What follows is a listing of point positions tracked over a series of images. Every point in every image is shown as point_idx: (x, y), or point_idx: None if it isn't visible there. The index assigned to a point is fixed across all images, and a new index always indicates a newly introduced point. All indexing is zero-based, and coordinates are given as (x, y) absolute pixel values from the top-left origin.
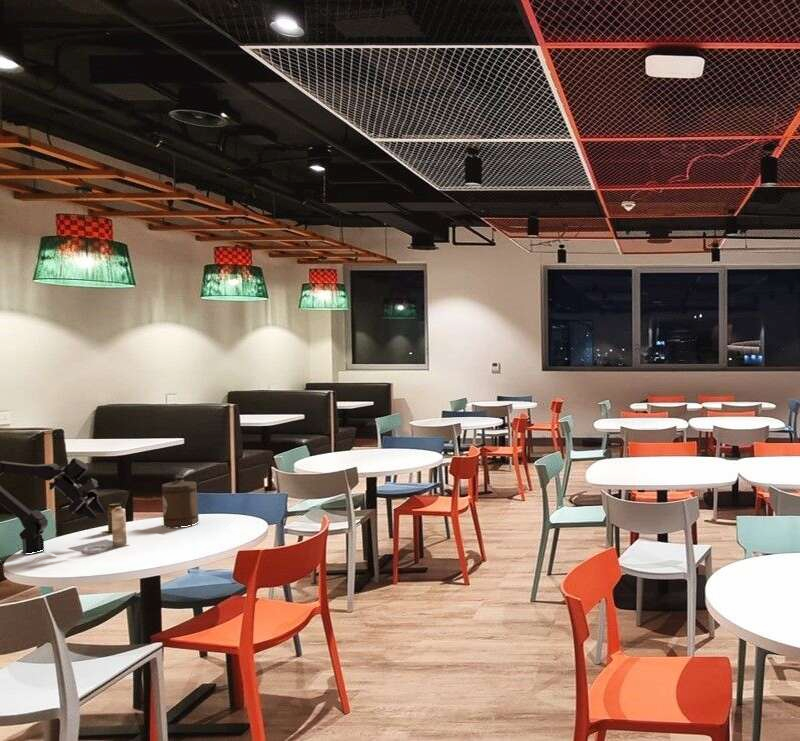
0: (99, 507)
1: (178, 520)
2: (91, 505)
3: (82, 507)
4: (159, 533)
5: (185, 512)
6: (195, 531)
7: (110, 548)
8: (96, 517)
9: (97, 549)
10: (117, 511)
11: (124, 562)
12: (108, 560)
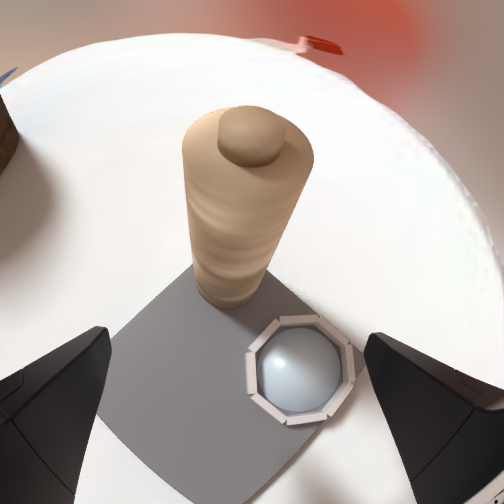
0: (71, 385)
1: (4, 137)
2: (52, 497)
3: (486, 464)
4: (38, 187)
5: (3, 107)
6: (80, 107)
7: (274, 309)
8: (377, 335)
9: (287, 367)
10: (309, 147)
11: (420, 218)
12: (409, 271)
